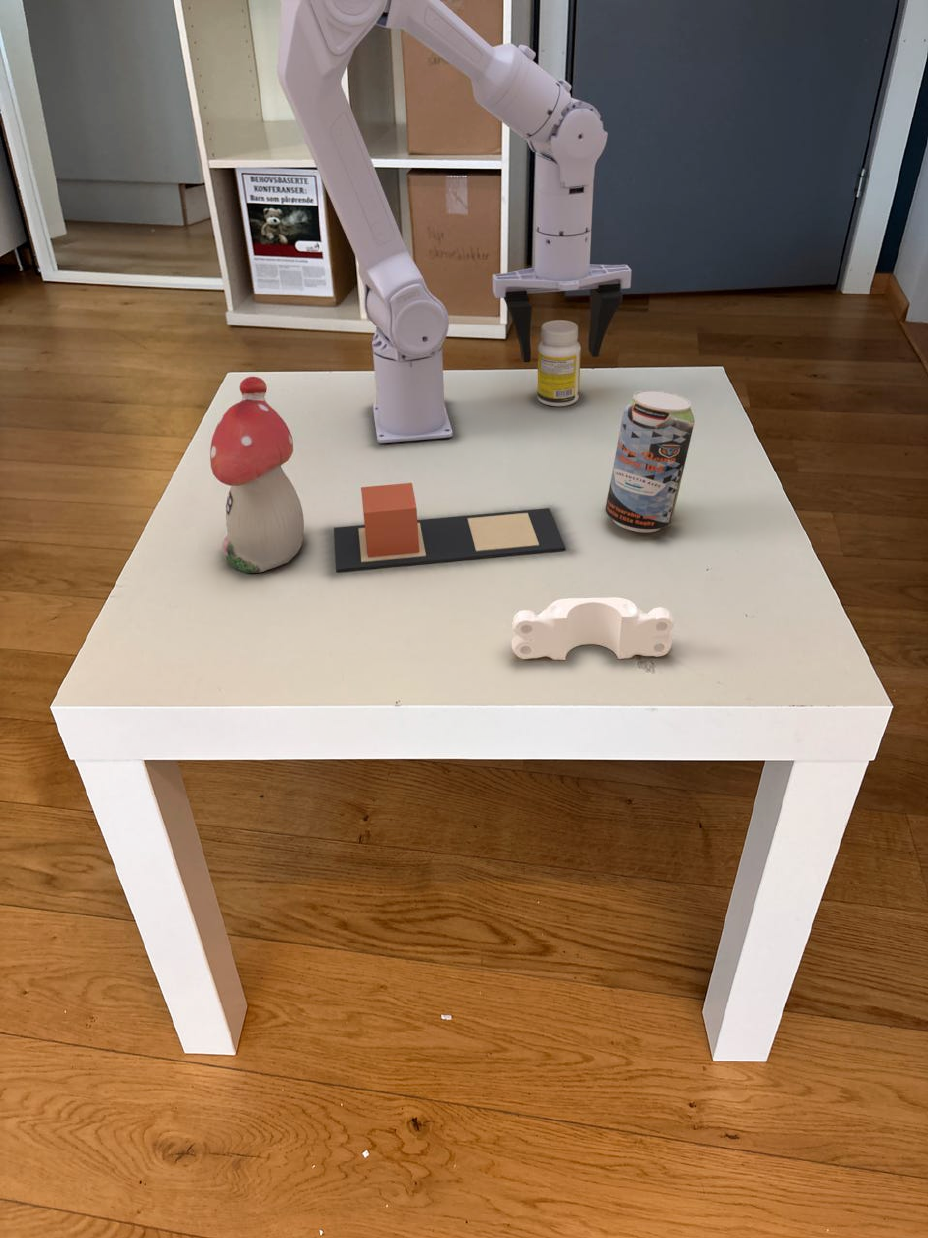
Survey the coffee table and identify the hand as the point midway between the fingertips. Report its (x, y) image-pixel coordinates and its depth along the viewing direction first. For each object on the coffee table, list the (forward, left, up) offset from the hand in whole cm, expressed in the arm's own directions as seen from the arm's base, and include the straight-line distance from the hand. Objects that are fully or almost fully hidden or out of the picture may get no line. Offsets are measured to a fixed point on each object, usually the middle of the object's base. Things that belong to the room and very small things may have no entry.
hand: (559, 356), depth 108 cm
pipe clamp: (+46, -7, -5) cm, 46 cm away
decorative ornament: (+27, -32, -5) cm, 42 cm away
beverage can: (+28, +2, -5) cm, 29 cm away
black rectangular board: (+28, -16, -5) cm, 33 cm away
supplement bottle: (0, 0, -5) cm, 5 cm away
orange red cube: (+28, -21, -5) cm, 35 cm away
